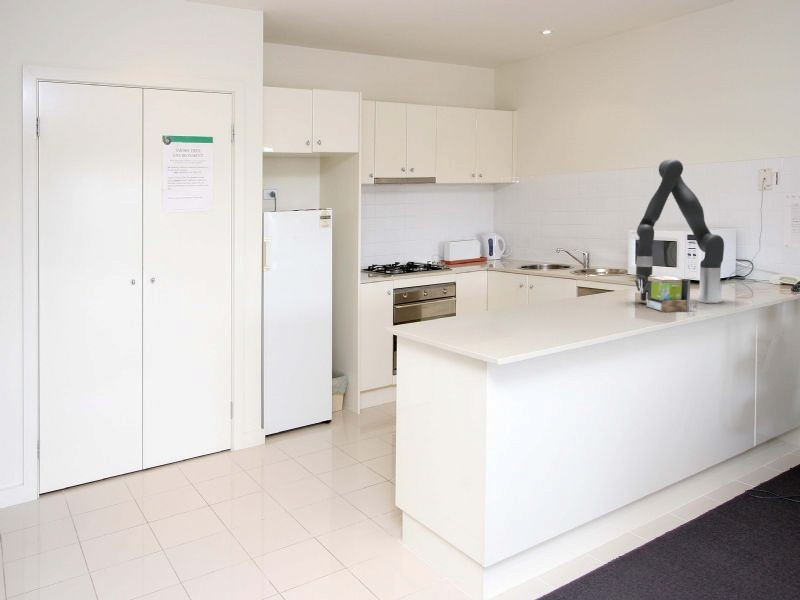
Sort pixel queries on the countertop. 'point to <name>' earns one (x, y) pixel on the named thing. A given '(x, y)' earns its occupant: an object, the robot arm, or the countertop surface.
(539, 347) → the countertop surface
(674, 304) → the wooden block
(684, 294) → the bookend
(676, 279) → the tea box
